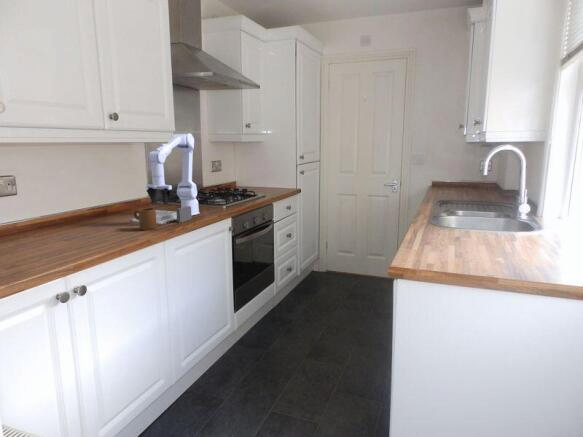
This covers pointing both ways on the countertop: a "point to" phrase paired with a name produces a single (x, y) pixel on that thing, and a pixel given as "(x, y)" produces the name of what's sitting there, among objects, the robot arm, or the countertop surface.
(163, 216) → the rack
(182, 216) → the panel
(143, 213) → the mug
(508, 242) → the countertop surface
